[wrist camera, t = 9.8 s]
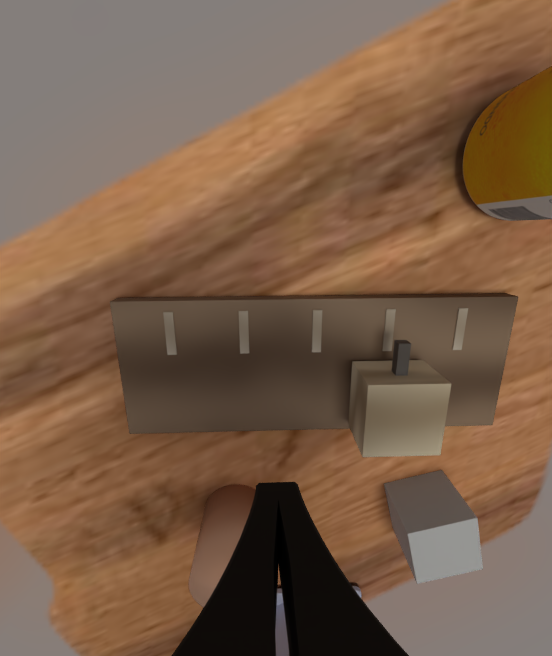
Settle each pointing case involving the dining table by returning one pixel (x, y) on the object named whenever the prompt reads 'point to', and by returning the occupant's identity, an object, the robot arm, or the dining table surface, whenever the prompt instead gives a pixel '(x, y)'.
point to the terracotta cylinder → (218, 537)
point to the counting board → (298, 356)
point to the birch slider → (398, 406)
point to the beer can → (513, 153)
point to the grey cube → (434, 526)
